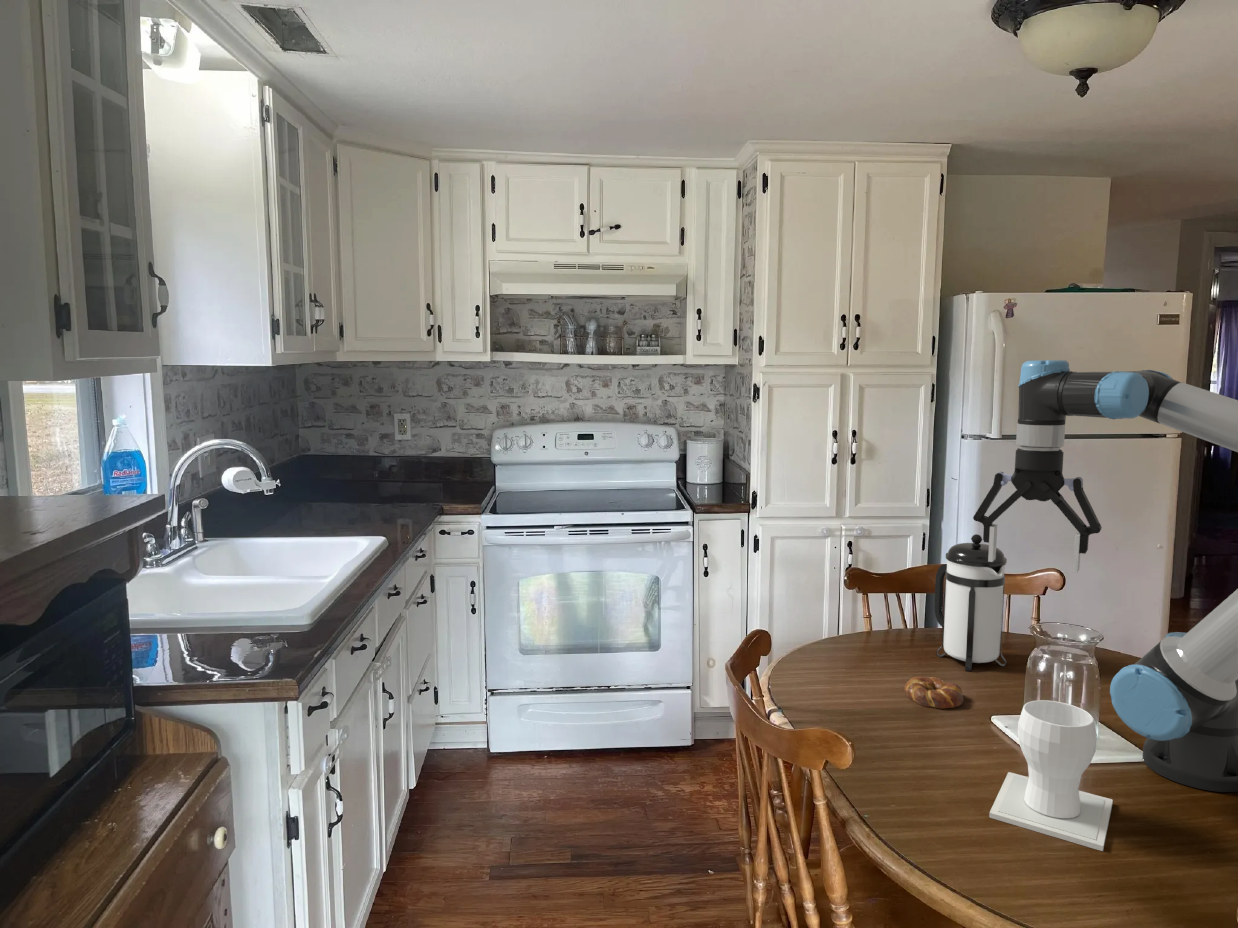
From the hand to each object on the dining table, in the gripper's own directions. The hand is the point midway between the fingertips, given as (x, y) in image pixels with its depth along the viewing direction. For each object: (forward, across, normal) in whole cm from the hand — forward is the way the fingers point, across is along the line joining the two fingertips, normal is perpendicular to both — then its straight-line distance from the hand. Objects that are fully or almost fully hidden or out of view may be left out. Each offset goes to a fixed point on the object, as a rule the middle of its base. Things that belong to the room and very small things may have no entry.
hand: (1032, 565), depth 145 cm
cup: (+32, -8, +24) cm, 41 cm away
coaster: (+33, -8, +24) cm, 41 cm away
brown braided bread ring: (+33, +18, -9) cm, 39 cm away
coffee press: (+33, +18, -36) cm, 52 cm away
